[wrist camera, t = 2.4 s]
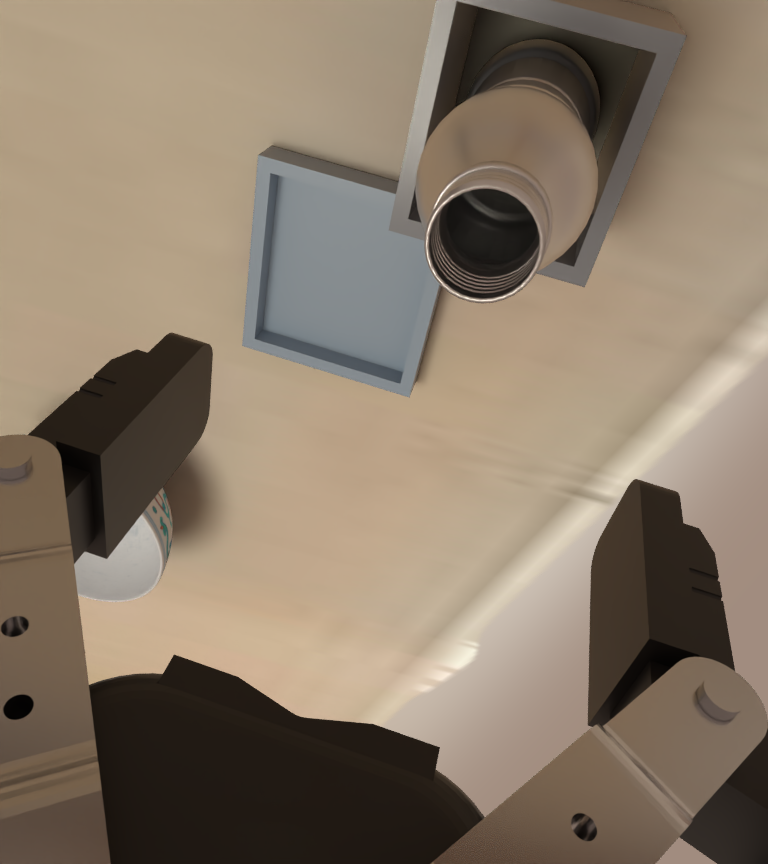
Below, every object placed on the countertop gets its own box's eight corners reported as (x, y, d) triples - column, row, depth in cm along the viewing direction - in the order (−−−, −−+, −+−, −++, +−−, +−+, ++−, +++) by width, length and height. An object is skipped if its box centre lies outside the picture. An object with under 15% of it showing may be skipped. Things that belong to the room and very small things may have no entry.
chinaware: (67, 521, 66) (14, 583, 60) (20, 383, 57) (-49, 439, 51) (218, 550, 63) (177, 617, 57) (192, 409, 55) (140, 471, 49)
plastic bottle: (452, 144, 39) (349, 300, 23) (503, 8, 35) (420, 86, 19) (561, 191, 39) (533, 378, 23) (626, 61, 35) (644, 182, 19)
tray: (271, 145, 41) (258, 154, 40) (464, 200, 41) (458, 212, 39) (253, 332, 49) (242, 345, 48) (415, 381, 48) (409, 397, 47)
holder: (472, -39, 34) (442, -28, 28) (671, 12, 33) (686, 35, 27) (421, 181, 40) (388, 230, 34) (587, 228, 40) (584, 287, 33)
